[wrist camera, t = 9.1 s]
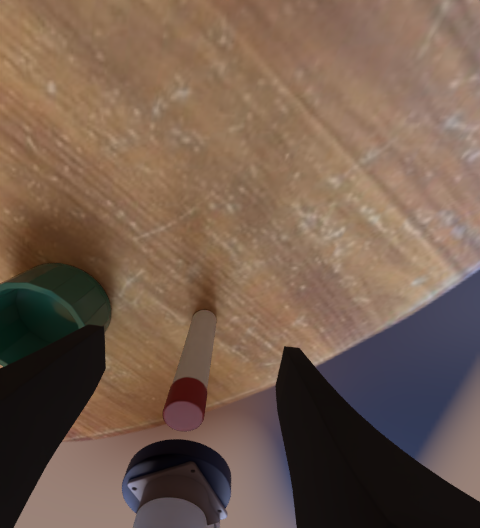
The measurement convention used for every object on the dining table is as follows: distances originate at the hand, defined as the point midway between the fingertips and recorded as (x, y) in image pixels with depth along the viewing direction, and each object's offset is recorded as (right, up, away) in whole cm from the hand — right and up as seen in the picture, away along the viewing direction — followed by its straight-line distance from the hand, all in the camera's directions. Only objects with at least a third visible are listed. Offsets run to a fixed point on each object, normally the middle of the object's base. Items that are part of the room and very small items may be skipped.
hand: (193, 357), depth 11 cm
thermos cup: (-11, +1, +9) cm, 14 cm away
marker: (-1, 0, +10) cm, 10 cm away
